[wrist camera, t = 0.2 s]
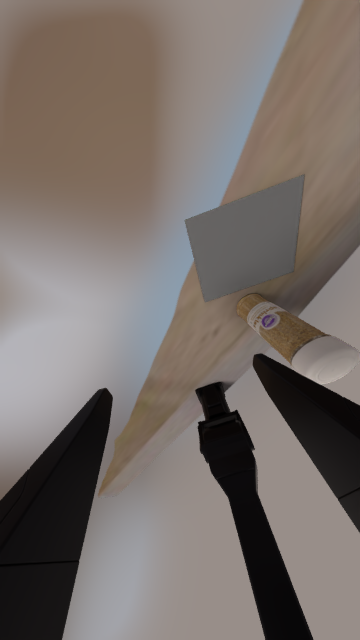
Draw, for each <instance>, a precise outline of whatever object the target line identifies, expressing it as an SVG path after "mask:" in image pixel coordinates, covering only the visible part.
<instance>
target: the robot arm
mask: <svg viewBox="0 0 360 640" xmlns="http://www.w3.org/2000/svg"><path fill="white" fill-rule="evenodd" d="M253 367H254V369H255V371H256V373H257V375H258V377H259V379H260V381H261V382H262V384H263V386H264V388H265V390H266V391H267V393H268V395H269V397H270V398H271V400H272V401H273V402H274V404H275V405H276V407H277V409H278V410H279V411H280V413H281V414H282V416H283V418H284V419H285V421H286V422H287V424H288V425H289V426H290V428H291V430H292V431H293V432H294V434H295V436H296V437H297V439H298V440H299V442H300V443H301V445H302V446H303V448H304V449H305V450H306V452H307V454H308V455H309V457H310V458H311V460H312V461H313V463H314V464H315V466H316V467H317V469H318V470H319V472H320V473H321V475H322V476H323V478H324V479H325V481H326V482H327V484H328V485H329V487H330V488H331V490H332V491H333V493H334V494H335V496H336V497H337V498H338V501H339V502H340V504H341V505H342V507H343V508H344V510H345V511H346V513H347V514H348V516H349V517H350V519H351V520H352V522H353V523H354V525H355V526H356V528H357V529H358V531H359V532H360V405H358V404H356V403H354V402H352V401H350V400H348V399H346V398H345V397H342V396H340V395H339V394H337V393H335V392H333V391H331V390H329V389H328V388H326V387H324V386H322V385H320V384H318V383H316V382H314V381H313V380H311V379H309V378H307V377H305V376H303V375H301V374H299V373H298V372H296V371H294V370H292V369H290V368H288V367H286V366H284V365H282V364H281V363H279V362H277V361H275V360H273V359H271V358H269V357H267V356H266V355H264V354H261V353H260V354H255V355H254V357H253ZM195 391H196V394H197V396H198V399H199V401H200V403H201V405H202V408H203V412H204V416H205V421H202V422H201V421H200V422H198V424H199V426H198V432H199V439H200V452H201V454H203V455H204V458H205V460H206V462H207V463H209V466H210V470H211V473H212V474H213V476H214V477H215V479H216V480H217V482H218V483H219V485H220V486H221V488H222V489H223V491H224V492H225V494H226V495H227V497H228V499H229V502H230V506H231V509H232V514H233V517H234V521H235V525H236V529H237V533H238V536H239V540H240V544H241V548H242V552H243V556H244V559H245V563H246V567H247V571H248V575H249V579H250V582H251V586H252V590H253V594H254V598H255V601H256V605H257V609H258V613H259V617H260V621H261V624H262V628H263V632H264V636H265V640H313V637H312V635H311V632H310V630H309V627H308V624H307V622H306V619H305V616H304V614H303V611H302V608H301V606H300V604H299V601H298V598H297V596H296V593H295V590H294V588H293V585H292V582H291V580H290V577H289V575H288V572H287V569H286V567H285V564H284V561H283V559H282V556H281V554H280V551H279V549H278V546H277V543H276V541H275V538H274V535H273V533H272V531H271V528H270V525H269V522H268V520H267V517H266V515H265V512H264V509H263V507H262V504H261V501H260V499H259V496H258V484H257V483H258V482H257V481H258V480H257V465H256V461H255V457H254V455H253V453H252V450H255V448H254V445H253V443H252V441H251V438H250V436H249V434H248V431H247V429H246V427H245V425H244V423H243V421H242V419H241V417H240V415H239V413H238V411H237V410H235V411H233V412H230V409H229V407H228V404H227V402H226V400H225V394H224V390H223V386H222V383H221V382H219V383H216V384H213V385H209V386H206V387H203V388H200V389H197V390H195ZM112 401H113V397H112V395H111V393H110V392H109V391H108V389H107V388H103V389H99V390H98V391H97V392H96V393H95V394H94V395H93V396H92V398H91V399H90V400H89V401H88V402H87V403H86V404H85V405H84V407H83V408H82V409H81V410H80V411H79V412H78V413H77V415H76V416H75V417H74V418H73V419H72V420H71V421H70V423H69V424H68V425H67V426H66V427H65V428H64V430H62V432H61V433H60V434H59V435H58V436H57V437H56V438H55V440H54V441H53V442H52V443H51V444H50V445H49V446H48V448H47V449H46V450H45V451H44V452H43V454H41V455H40V457H39V458H38V459H37V460H36V461H35V462H34V463H33V465H32V466H31V467H30V469H29V470H27V471H26V472H25V474H24V475H23V476H22V477H21V478H20V479H19V480H18V482H17V483H16V484H15V485H14V486H13V487H12V488H11V489H10V490H9V492H8V493H7V494H6V495H5V496H4V497H3V498H2V499H1V500H0V640H62V637H63V633H64V628H65V624H66V619H67V615H68V610H69V606H70V601H71V597H72V592H73V588H74V583H75V579H76V574H77V570H78V565H79V559H80V556H81V551H82V547H83V542H84V538H85V533H86V529H87V524H88V520H89V515H90V511H91V506H92V502H93V498H94V493H95V489H96V484H97V480H98V475H99V471H100V466H101V462H102V457H103V453H104V448H105V444H106V439H107V435H108V430H109V424H110V417H111V408H112Z"/></svg>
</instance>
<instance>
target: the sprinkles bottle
mask: <svg viewBox="0 0 360 640" xmlns="http://www.w3.org/2000/svg"><path fill="white" fill-rule="evenodd" d="M237 313H238V315H239V316H240V317H241V318H243V319H244V320H245V321H246V322H247V323H248V324H249V325H250V326H251V327H252V328H253V329H254V330H255V331H256V332H257V333H258V334H259V335H260V336H261V337H262V338H263V339H264V340H265V341H266V342H267V343H268V344H270V345H271V346H272V347H273V348H274V349H275V350H277V351H278V352H279V353H280V354H281V355H282V356H283V357H284V358H285V359H286V360H287V361H288V362H289V363H290V364H291V366H292V368H293V369H294V370H295V371H296V372H298V373H299V374H301V375H303V376H305V377H307V378H309V379H311V380H313V381H314V382H316V383H318V384H320V385H323V384H327V383H331V382H333V381H336V380H338V379H340V378H342V377H343V376H345V375H346V374H348V373H349V372H351V371H352V370H353V369H354V368H355V367H356V366H357V364H358V363H359V361H360V352H359V351H358V350H357V349H356V348H354V347H352V346H351V345H349V344H347V343H346V342H344V341H342V340H340V339H338V338H336V337H334V336H331V335H327V334H325V333H323V332H321V331H320V330H318V329H316V328H315V327H313V326H311V325H309V324H308V323H306V322H304V321H303V320H301V319H299V318H298V317H296V316H294V315H292V314H291V313H289V312H287V311H286V310H284V309H282V308H280V307H279V306H277V305H275V304H273V303H271V302H269V301H267V300H265V299H263V298H262V297H261V296H260V295H258V294H249V295H247V296H245V297H243V298H242V299H241V300H240V301H239V303H238V305H237Z"/></svg>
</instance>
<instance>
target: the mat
mask: <svg viewBox="0 0 360 640" xmlns="http://www.w3.org/2000/svg"><path fill="white" fill-rule="evenodd" d="M303 182H304V175H301V176H299V177H296V178H293V179H291V180H288V181H285V182H283V183H280V184H278V185H275V186H272V187H270V188H267V189H265V190H262V191H259V192H257V193H254V194H252V195H249V196H246V197H244V198H241V199H238V200H236V201H233V202H231V203H228V204H225V205H223V206H220V207H218V208H215V209H213V210H210V211H207V212H205V213H202V214H199V215H197V216H194V217H191V218H189V219H186V220H185V224H186V228H187V232H188V236H189V240H190V244H191V248H192V252H193V257H194V261H195V265H196V269H197V273H198V277H199V281H200V285H201V289H202V293H203V297H204V301H205V302H208V301H210V300H213V299H216V298H219V297H222V296H225V295H228V294H231V293H234V292H236V291H239V290H242V289H245V288H248V287H251V286H254V285H257V284H260V283H262V282H265V281H268V280H271V279H274V278H277V277H280V276H283V275H286V274H288V273H291V272H293V271H294V262H295V253H296V244H297V235H298V226H299V218H300V209H301V200H302V191H303Z"/></svg>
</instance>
